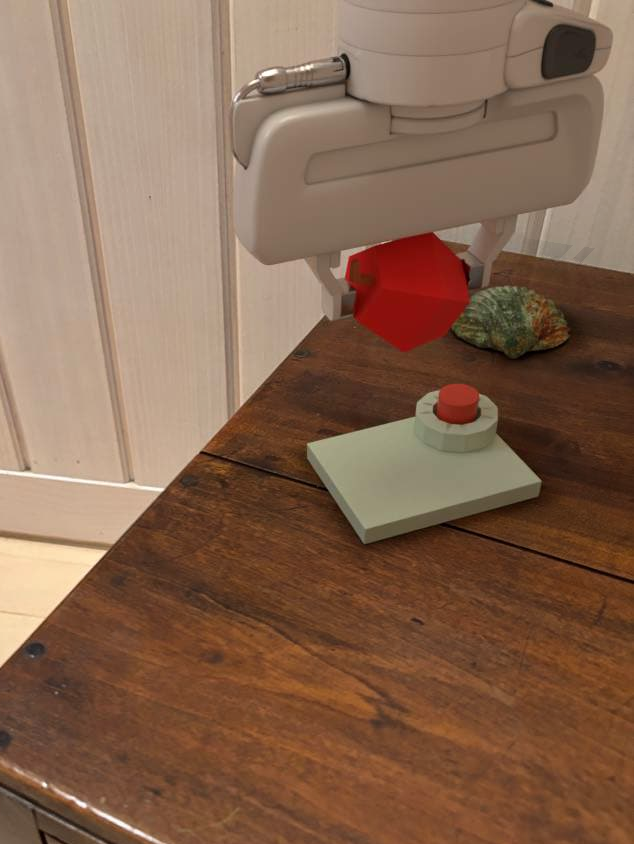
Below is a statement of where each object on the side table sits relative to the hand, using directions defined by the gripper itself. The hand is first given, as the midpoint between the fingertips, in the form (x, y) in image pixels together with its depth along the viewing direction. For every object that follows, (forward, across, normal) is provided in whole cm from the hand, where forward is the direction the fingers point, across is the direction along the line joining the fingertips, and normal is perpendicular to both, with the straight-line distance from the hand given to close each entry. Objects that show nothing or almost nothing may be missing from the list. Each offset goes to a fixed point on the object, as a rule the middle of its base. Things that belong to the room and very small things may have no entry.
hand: (405, 299), depth 55 cm
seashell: (+15, +19, +16) cm, 28 cm away
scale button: (+12, +6, +3) cm, 14 cm away
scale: (+14, +2, 0) cm, 15 cm away
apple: (+2, 0, 0) cm, 2 cm away
